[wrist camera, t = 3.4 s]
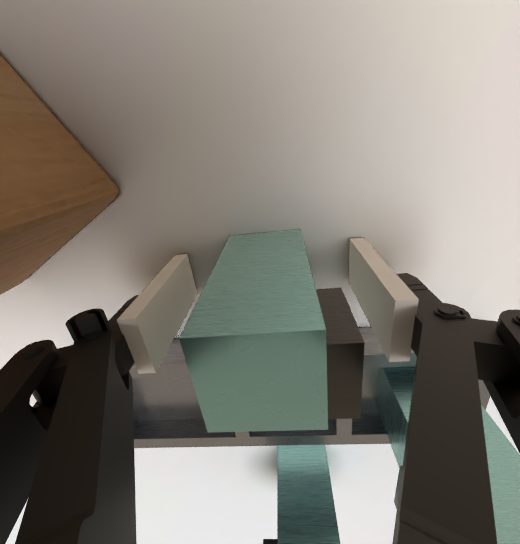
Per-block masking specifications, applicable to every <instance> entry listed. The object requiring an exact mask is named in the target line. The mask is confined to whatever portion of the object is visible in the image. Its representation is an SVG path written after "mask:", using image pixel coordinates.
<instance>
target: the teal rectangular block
mask: <svg viewBox="0 0 520 544" xmlns="http://www.w3.org/2000/svg"><path fill="white" fill-rule="evenodd" d="M179 340H180V344H181V347H182V350H183V353H184V357H185V360H186V363H187V366H188V370H189V373H190V376H191V379H192V383H193V386H194V389H195V392H196V396H197V399H198V402H199V405H200V409H201V412H202V415H203V418H204V422H205V425H206V428H207V431H208V432H249V431H291V430H328V419H356V418H361V400H362V382H363V364H364V346H365V342H364V340H363V338H362V335H361V333H360V331H359V328H358V326H357V324H356V321H355V319H354V317H353V314H352V312H351V310H350V307H349V305H348V303H347V300H346V298H345V296H344V293H343V291H342V289H341V288H330V289H317V290H316V288H315V285H314V281H313V277H312V273H311V269H310V265H309V261H308V257H307V253H306V250H305V246H304V242H303V238H302V234H301V230H300V229H294V230H284V231H273V232H263V233H253V234H243V235H233V236H229V238H228V240H227V242H226V244H225V246H224V248H223V250H222V252H221V254H220V256H219V258H218V260H217V262H216V264H215V267H214V269H213V271H212V273H211V275H210V277H209V279H208V281H207V283H206V285H205V287H204V289H203V291H202V293H201V295H200V297H199V299H198V301H197V303H196V305H195V307H194V309H193V311H192V313H191V315H190V317H189V319H188V321H187V323H186V325H185V327H184V329H183V331H182V333H181V335H180V337H179Z"/></svg>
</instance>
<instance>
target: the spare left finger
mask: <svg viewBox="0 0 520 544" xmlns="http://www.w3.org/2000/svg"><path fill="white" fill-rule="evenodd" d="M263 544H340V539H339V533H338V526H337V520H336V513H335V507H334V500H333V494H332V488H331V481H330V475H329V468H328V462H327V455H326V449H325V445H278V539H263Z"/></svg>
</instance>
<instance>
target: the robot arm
mask: <svg viewBox="0 0 520 544" xmlns="http://www.w3.org/2000/svg"><path fill="white" fill-rule="evenodd" d="M349 283H350V285H351V287H352V289H353V291H354V293H355V295H356V297H357V299H358V301H359V303H360V305H361V307H362V309H363V311H364V313H365V315H366V317H367V319H368V321H369V323H370V325H371V327H372V329H373V331H374V333H375V335H376V337H377V339H378V341H379V343H380V345H381V347H382V349H383V351H384V353H385V355H386V357H387V359H388V361H389V362H402V361H410V357H411V350H413V352H414V353H415V355H416V356H417V360H416V366H415V373H414V379H413V381H414V382H413V390H412V397H411V405H410V413H409V421H408V428H407V436H406V444H405V452H404V459H403V467H402V475H401V483H400V490H399V498H398V506H397V513H396V521H395V529H394V537H393V544H497V536H496V527H495V519H494V510H493V502H492V493H491V485H490V476H489V468H488V459H487V451H486V442H485V434H484V425H483V417H482V408H481V400H480V391H479V383H478V380H483V382H484V384H485V386H486V388H487V390H488V392H489V394H490V396H491V398H492V400H493V402H494V404H495V406H496V407H497V409H498V411H499V413H500V415H501V417H502V419H503V421H504V423H505V425H506V427H507V429H508V431H509V433H510V435H511V437H512V439H513V441H514V443H515V445H516V447H517V449H518V451H519V453H520V310H507V311H504V312H502V313H501V314H500V316H499V319H498V322H496V321H487V320H479V319H472V318H471V317H470V315H469V313H468V312H467V311H465V310H464V309H463V308H460V307H458V306H456V305H451V304H447V303H442V302H441V301H440V300H439V299H438V298H437V297H436V296H435V295H434V294H433V293H432V292H431V291H430V290H428V288H427V287H426V286H425V285H423V283H422V282H421V281H420V280H419V279H418V278H416V277H414V276H412V275H410V274H408V273H403V274H396V273H395V272H394V271H393V270H392V269H391V267H390V266H389V265H388V264H387V263H386V262H385V261H384V260H383V258H382V257H381V256H380V255H379V254H378V253H377V252H376V251H375V249H374V248H373V247H372V246H371V245H370V244H369V243H368V242H367V241H366V239H365V238H353V239H350V252H349ZM196 296H197V290H196V286H195V282H194V278H193V274H192V270H191V266H190V262H189V258H188V254H181V255H175V256H174V257H173V258H172V259H171V260H170V261H169V262H168V264H167V265H166V266H165V267H164V268H163V269H162V270H161V271H160V272H159V273H158V275H157V276H156V277H155V278H154V279H153V280H152V281H151V282H150V283H149V285H148V286H147V287H146V288H145V289H144V290H143V291H142V292H141V293H140V295H136V296H134V297H133V298H131V299H130V300H128V301H127V302H126V303H125V304H124V305H123V306H122V308H120V310H119V311H118V312H117V313H116V314H115V315H114V316H113V317H112V318H111V319H110V320H109V321H108V320H107V318H106V315H105V313H104V311H103V310H102V309H91V310H87V311H84V312H81V313H79V314H77V315H75V316H73V317H72V318H70V319H69V320H68V321H67V322H66V326H67V328H68V330H69V332H70V334H71V336H72V338H73V340H74V344H73V345H71V346H67V347H63V348H59V349H57V348H56V346H55V344H54V343H53V341H51V340H42V341H39V342H34V343H32V344H29V345H27V346H26V347H25V348H23V349H21V350H20V351H19V352H17V353H16V354H15V355H14V356H13V357H12V358H11V359H10V360H9V361H8V362H7V363H6V364H5V366H4V367H3V368H2V369H1V370H0V544H5V543H6V541H7V539H8V537H9V535H10V533H11V531H12V529H13V527H14V525H15V523H16V521H17V519H18V517H19V515H20V513H21V511H22V509H23V507H24V505H25V503H26V501H27V499H28V501H27V505H26V508H25V512H24V515H23V518H22V522H21V525H20V529H19V532H18V535H17V539H16V542H15V544H136V511H135V469H134V427H133V384H132V376H131V374H130V372H129V370H130V369H131V367H132V366H133V364H135V366H136V369H137V371H138V374H145V373H156V372H157V370H158V368H159V366H160V364H161V362H162V360H163V358H164V357H165V355H166V353H167V351H168V349H169V347H170V345H171V343H172V341H173V339H174V338H175V336H176V334H177V332H178V330H179V328H180V326H181V324H182V322H183V320H184V318H185V317H186V315H187V313H188V311H189V309H190V307H191V305H192V303H193V301H194V299H195V298H196ZM32 394H33V396H34V397H35V399H36V400H37V402H36V403H35V405H34V406H33V407H32V406H30V404H29V402H30V397H31V395H32ZM28 497H29V498H28Z"/></svg>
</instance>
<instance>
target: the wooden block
mask: <svg viewBox="0 0 520 544" xmlns="http://www.w3.org/2000/svg"><path fill="white" fill-rule="evenodd" d="M118 192H119V190H118V188H117V185H116V184H115V183H114V182H113V181H112V180H111V179H110V178H109V176H108V175H107V174H106V173H105V172H104V171H103V170H102V169H101V167H100V166H99V165H98V164H97V163H96V162H95V161H94V160H93V158H92V157H91V156H90V155H89V154H88V153H87V152H86V151H85V149H84V148H83V147H82V146H81V145H80V144H79V143H78V142H77V140H76V139H75V138H74V137H73V136H72V135H71V134H70V133H69V131H68V130H67V129H66V128H65V127H64V126H63V125H62V124H61V122H60V121H59V120H58V119H57V118H56V117H55V116H54V115H53V113H52V112H51V111H50V110H49V109H48V108H47V107H46V106H45V104H44V103H43V102H42V101H41V100H40V99H39V98H38V97H37V95H36V94H35V93H34V92H33V91H32V90H31V89H30V88H29V87H28V85H27V84H26V83H25V82H24V81H23V80H22V79H21V78H20V76H19V75H18V74H17V73H16V72H15V71H14V70H13V69H12V67H11V66H10V65H9V64H8V63H7V62H6V61H5V60H4V58H3V57H2V56H1V55H0V295H1V294H2V293H4V292H6V291H8V290H9V289H11V288H13V287H15V286H17V285H18V284H20V283H22V282H23V281H24V280H25V279H27V278H28V277H29V276H30V275H31V274H32V273H33V272H34V271H35V270H37V269H38V268H39V267H40V266H41V265H42V264H43V263H44V262H46V261H47V260H48V259H49V258H50V257H51V256H52V255H53V254H54V253H56V252H57V251H58V250H59V249H60V248H61V247H62V246H63V245H64V244H66V243H67V242H68V241H69V240H70V239H71V238H72V237H73V236H74V235H76V234H77V233H78V232H79V231H80V230H81V229H82V228H83V227H84V226H86V225H87V224H88V223H89V222H90V221H91V220H92V219H93V218H94V217H96V216H97V215H98V214H99V213H100V212H101V211H102V210H103V209H104V208H106V207H107V206H108V205H109V204H110V203H111V202H112V201H113V200H115V199H116V197H117V194H118Z"/></svg>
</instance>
